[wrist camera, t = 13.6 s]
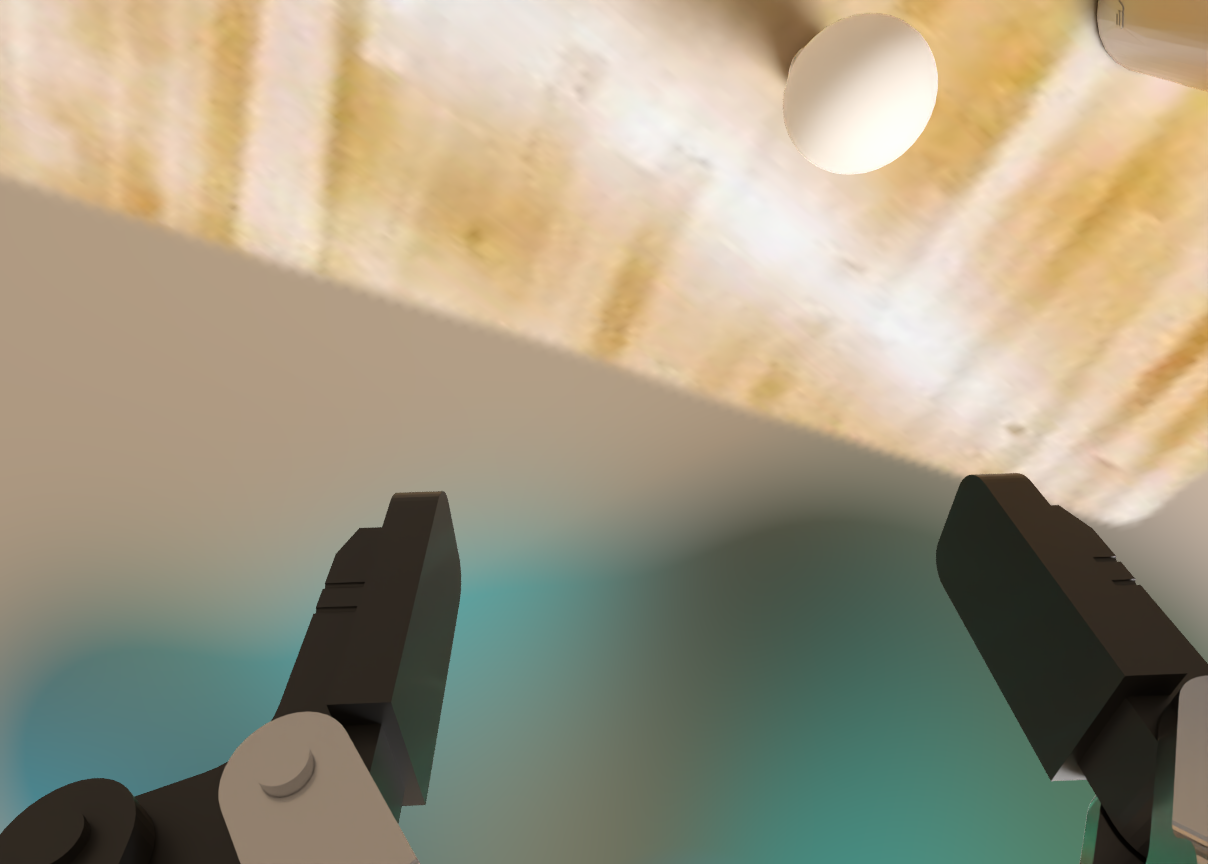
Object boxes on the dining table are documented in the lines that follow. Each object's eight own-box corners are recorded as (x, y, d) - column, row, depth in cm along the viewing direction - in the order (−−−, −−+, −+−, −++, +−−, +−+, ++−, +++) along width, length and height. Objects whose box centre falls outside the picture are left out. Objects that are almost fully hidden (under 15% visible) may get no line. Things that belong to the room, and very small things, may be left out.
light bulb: (736, 29, 37) (788, 64, 28) (862, -26, 36) (958, -8, 27) (766, 151, 41) (820, 215, 32) (881, 105, 39) (970, 159, 31)
